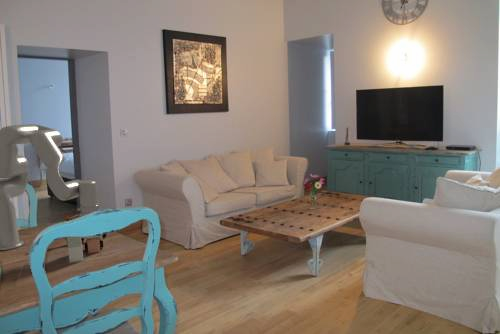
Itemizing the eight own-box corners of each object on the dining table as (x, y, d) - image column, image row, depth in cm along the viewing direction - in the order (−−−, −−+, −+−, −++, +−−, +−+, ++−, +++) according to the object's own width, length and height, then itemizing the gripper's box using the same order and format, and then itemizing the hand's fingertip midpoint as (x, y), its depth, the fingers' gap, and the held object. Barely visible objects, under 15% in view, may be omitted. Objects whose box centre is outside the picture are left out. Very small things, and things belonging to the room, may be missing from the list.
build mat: (68, 258, 190) (67, 256, 190) (86, 255, 193) (86, 254, 192) (67, 264, 182) (66, 263, 182) (86, 262, 184) (85, 260, 184)
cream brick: (70, 256, 190) (69, 242, 189) (83, 254, 192) (81, 241, 191) (69, 262, 182) (68, 248, 182) (83, 260, 184) (81, 246, 183)
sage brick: (69, 242, 189) (67, 228, 188) (81, 241, 191) (80, 227, 190) (68, 248, 182) (66, 233, 181) (81, 246, 183) (79, 232, 182)
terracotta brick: (88, 249, 201) (87, 236, 200) (100, 247, 202) (99, 234, 202) (88, 254, 193) (87, 241, 192) (100, 252, 195) (99, 239, 194)
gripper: (68, 213, 189) (73, 255, 191) (111, 208, 194) (115, 249, 197) (69, 210, 196) (74, 250, 198) (110, 205, 201) (114, 244, 204)
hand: (94, 249), depth 198 cm, fingers closed on terracotta brick, 5 cm apart
